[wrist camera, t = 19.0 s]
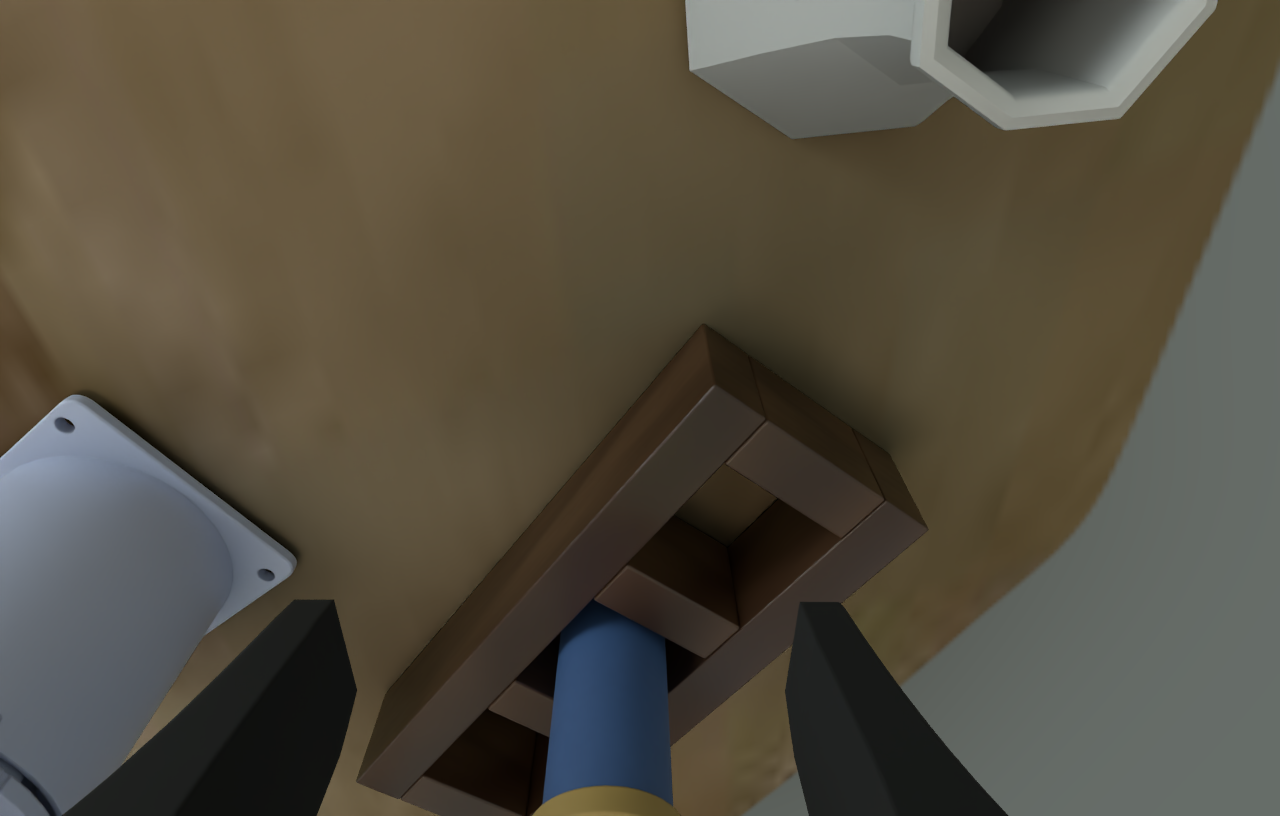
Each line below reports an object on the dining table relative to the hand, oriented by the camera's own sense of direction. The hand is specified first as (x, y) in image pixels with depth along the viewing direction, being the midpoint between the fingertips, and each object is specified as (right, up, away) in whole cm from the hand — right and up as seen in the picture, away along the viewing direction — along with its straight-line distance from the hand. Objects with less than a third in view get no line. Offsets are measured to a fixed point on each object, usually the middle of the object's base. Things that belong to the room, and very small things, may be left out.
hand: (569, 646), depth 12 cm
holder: (0, -2, +13) cm, 14 cm away
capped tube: (0, -2, +13) cm, 14 cm away
